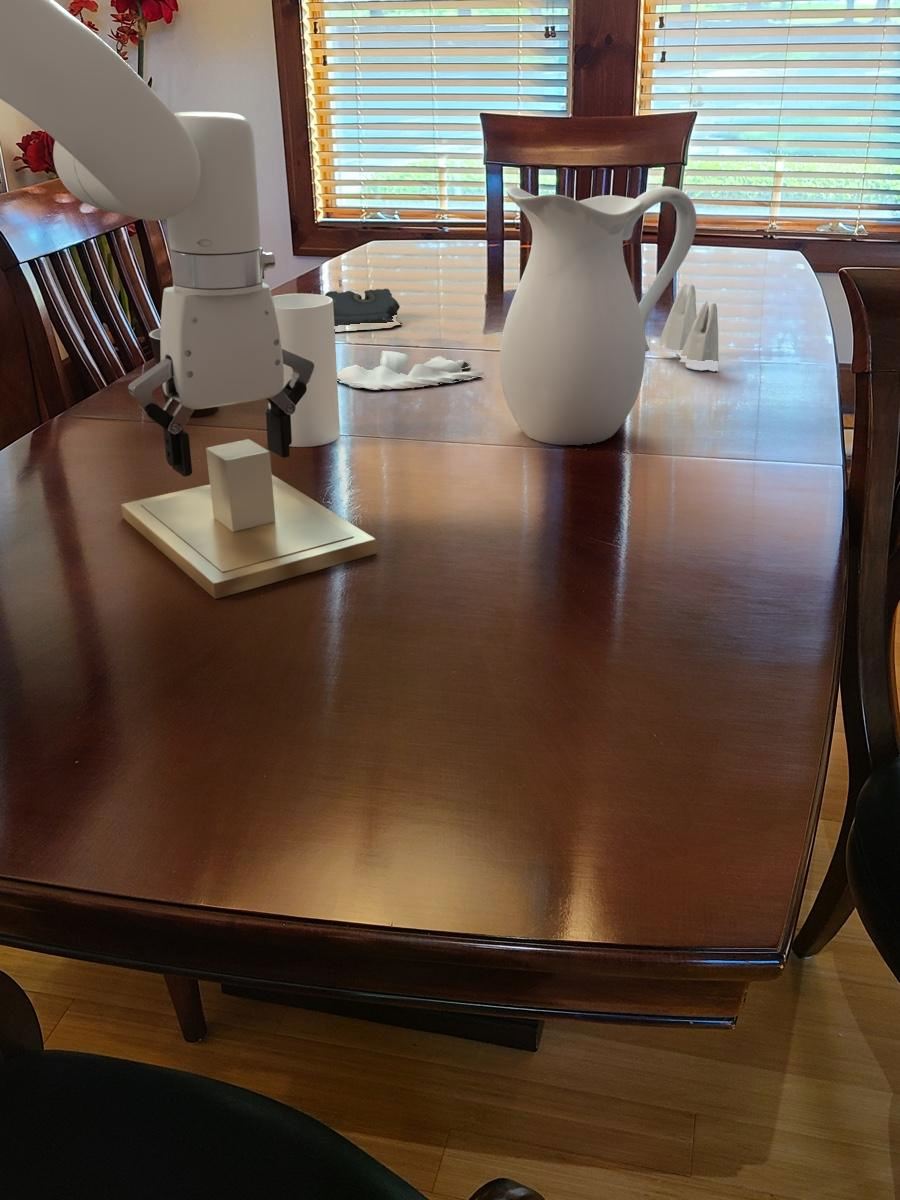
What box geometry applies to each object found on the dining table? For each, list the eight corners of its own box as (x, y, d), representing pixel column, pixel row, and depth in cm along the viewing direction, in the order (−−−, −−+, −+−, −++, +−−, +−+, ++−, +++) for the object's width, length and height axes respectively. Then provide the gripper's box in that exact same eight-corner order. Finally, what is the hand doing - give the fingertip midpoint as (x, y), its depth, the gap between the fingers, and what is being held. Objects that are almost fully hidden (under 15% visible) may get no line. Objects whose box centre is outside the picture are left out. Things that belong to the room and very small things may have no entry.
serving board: (215, 599, 91) (213, 582, 90) (122, 517, 107) (120, 502, 106) (377, 553, 99) (376, 537, 98) (268, 484, 115) (267, 470, 114)
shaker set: (656, 354, 163) (662, 279, 158) (681, 352, 165) (687, 278, 160) (694, 374, 153) (702, 295, 148) (720, 372, 154) (729, 293, 149)
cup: (257, 441, 128) (245, 304, 120) (295, 422, 134) (286, 291, 127) (317, 451, 124) (308, 310, 117) (352, 430, 131) (346, 297, 124)
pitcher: (535, 462, 121) (544, 199, 108) (476, 420, 135) (478, 182, 122) (715, 437, 128) (744, 189, 116) (642, 399, 142) (661, 174, 130)
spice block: (233, 532, 99) (225, 460, 96) (213, 517, 103) (205, 447, 99) (275, 521, 102) (270, 451, 98) (255, 507, 105) (248, 438, 102)
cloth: (310, 383, 150) (309, 366, 149) (389, 349, 167) (389, 333, 166) (440, 402, 141) (440, 384, 140) (509, 364, 159) (509, 347, 158)
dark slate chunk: (263, 317, 187) (261, 289, 185) (386, 309, 193) (386, 282, 190) (275, 337, 174) (273, 307, 172) (407, 328, 180) (406, 299, 177)
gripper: (287, 257, 99) (296, 437, 106) (102, 272, 90) (125, 468, 97) (328, 269, 93) (333, 457, 101) (134, 286, 84) (156, 492, 92)
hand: (231, 462), depth 99 cm, fingers open, 9 cm apart
